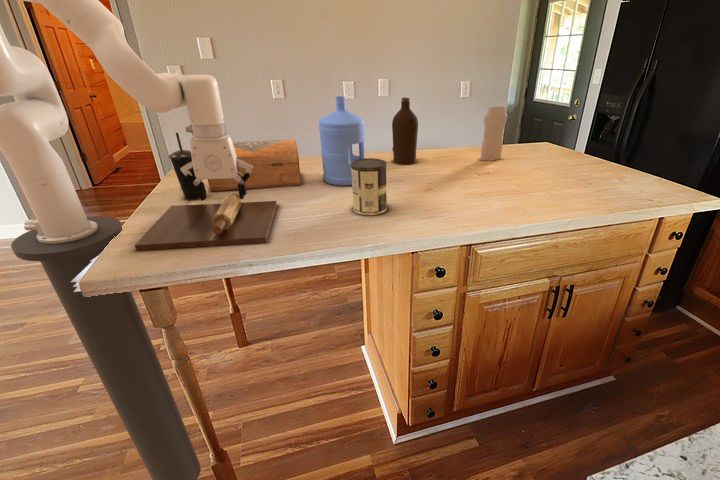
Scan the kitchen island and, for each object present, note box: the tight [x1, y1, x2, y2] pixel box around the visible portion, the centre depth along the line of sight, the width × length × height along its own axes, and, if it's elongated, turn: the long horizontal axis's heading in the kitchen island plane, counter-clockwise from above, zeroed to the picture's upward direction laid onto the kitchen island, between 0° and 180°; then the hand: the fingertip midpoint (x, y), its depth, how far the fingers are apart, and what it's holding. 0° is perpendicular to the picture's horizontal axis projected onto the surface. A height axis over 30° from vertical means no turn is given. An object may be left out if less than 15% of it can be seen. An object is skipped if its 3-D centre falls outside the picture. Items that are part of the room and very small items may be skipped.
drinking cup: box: [168, 132, 201, 201], centre depth 121 cm, size 8×8×20 cm
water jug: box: [318, 95, 366, 187], centre depth 136 cm, size 16×16×28 cm
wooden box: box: [207, 139, 302, 192], centre depth 137 cm, size 30×16×14 cm, turn 105°
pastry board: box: [134, 200, 278, 252], centre depth 107 cm, size 30×26×2 cm
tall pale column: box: [479, 104, 508, 161], centre depth 165 cm, size 11×4×22 cm, turn 106°
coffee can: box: [351, 157, 388, 216], centre depth 115 cm, size 10×10×14 cm
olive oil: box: [391, 97, 419, 165], centre depth 160 cm, size 11×11×25 cm
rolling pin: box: [212, 192, 242, 234], centre depth 106 cm, size 4×24×4 cm, turn 10°
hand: (223, 198), depth 104 cm, fingers open, 9 cm apart
